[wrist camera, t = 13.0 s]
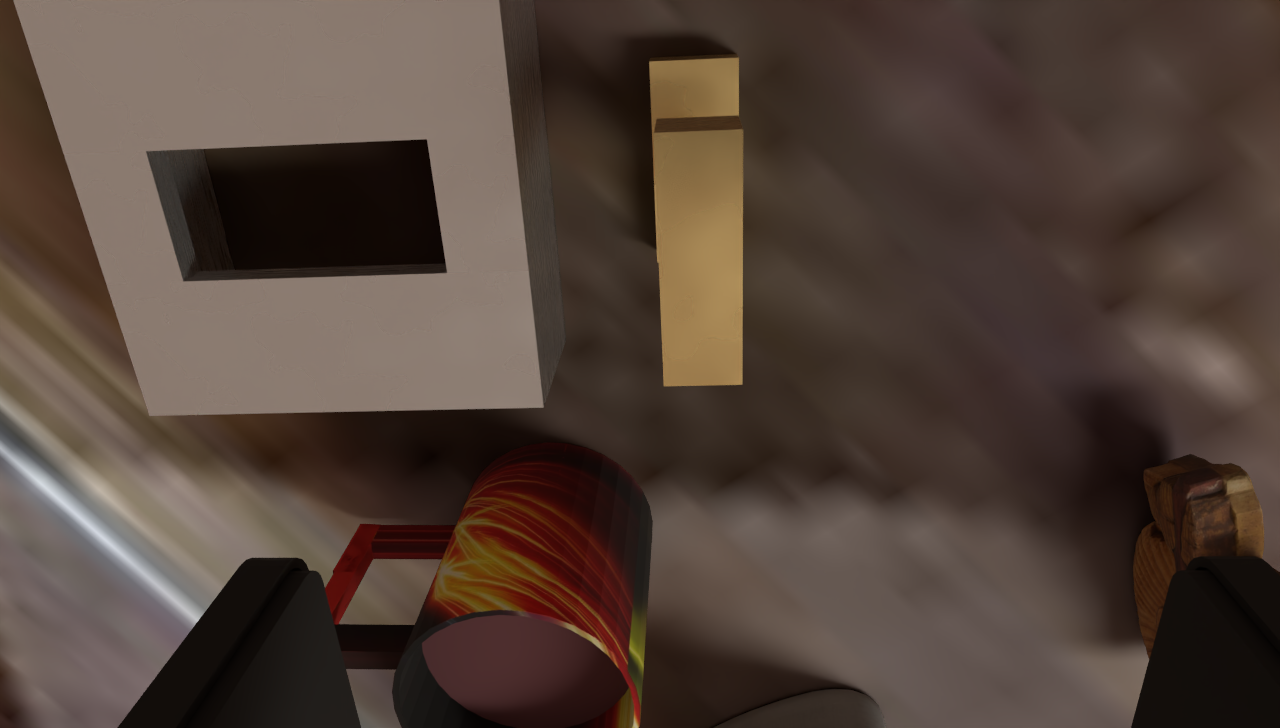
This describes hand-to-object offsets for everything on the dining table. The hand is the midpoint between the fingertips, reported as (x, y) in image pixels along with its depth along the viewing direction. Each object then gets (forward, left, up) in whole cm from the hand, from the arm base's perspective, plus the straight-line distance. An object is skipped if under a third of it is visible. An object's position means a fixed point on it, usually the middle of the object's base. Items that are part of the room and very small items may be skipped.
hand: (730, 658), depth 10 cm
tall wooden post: (0, 0, -29) cm, 29 cm away
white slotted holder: (+14, 0, -29) cm, 32 cm away
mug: (+10, +19, -29) cm, 36 cm away
